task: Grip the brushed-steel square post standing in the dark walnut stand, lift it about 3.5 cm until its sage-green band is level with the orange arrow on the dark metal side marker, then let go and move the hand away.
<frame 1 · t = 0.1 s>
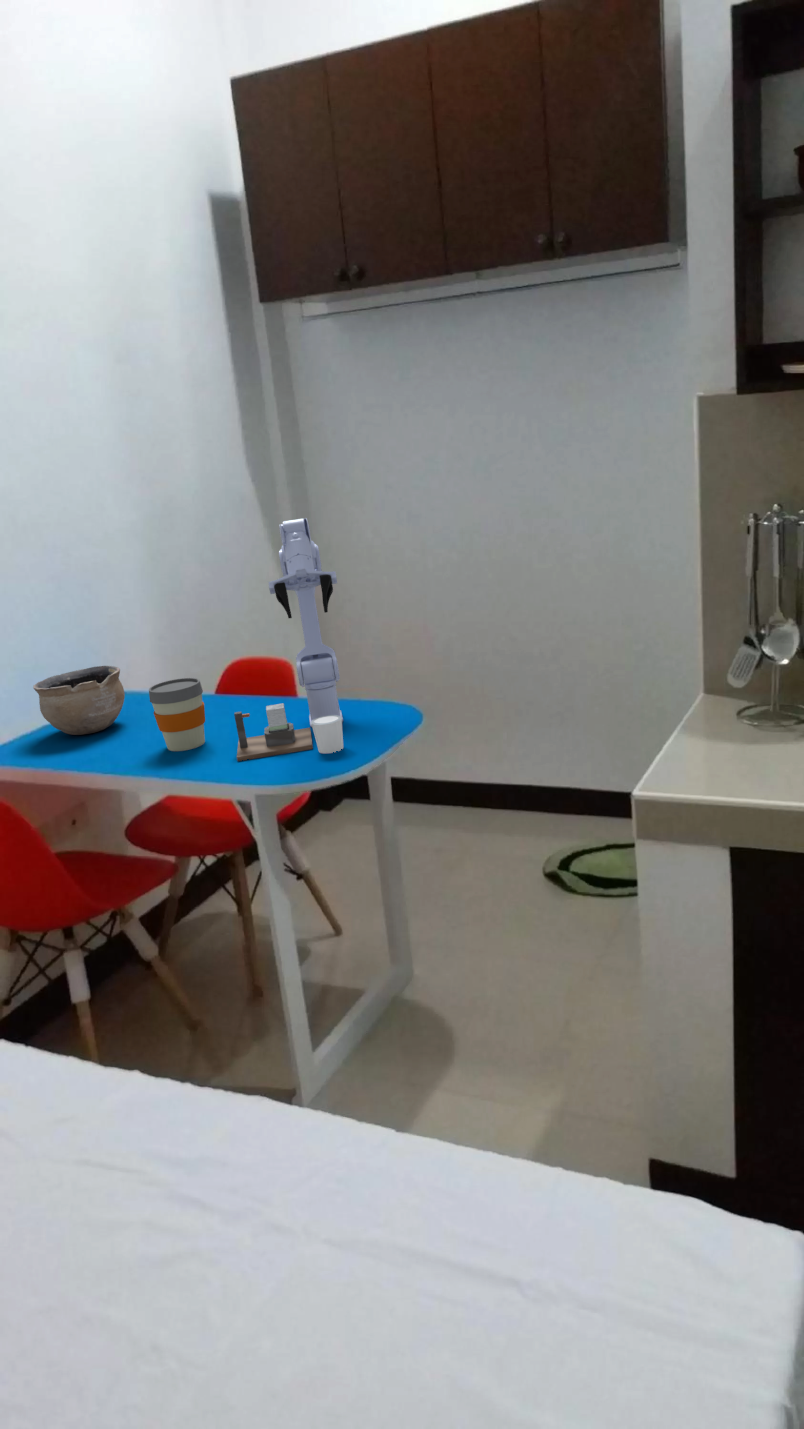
hand: (307, 612, 229), 32 cm above the table, tool tilted 50°, fingers open, 7 cm apart
shot glass: (331, 750, 242), on the table
stand: (281, 744, 250), on the table
reusable coffee cup: (186, 745, 261), on the table
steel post: (277, 723, 249), point 5 cm above the table, slide at 0.0 cm
ceramic bowl: (89, 730, 287), on the table
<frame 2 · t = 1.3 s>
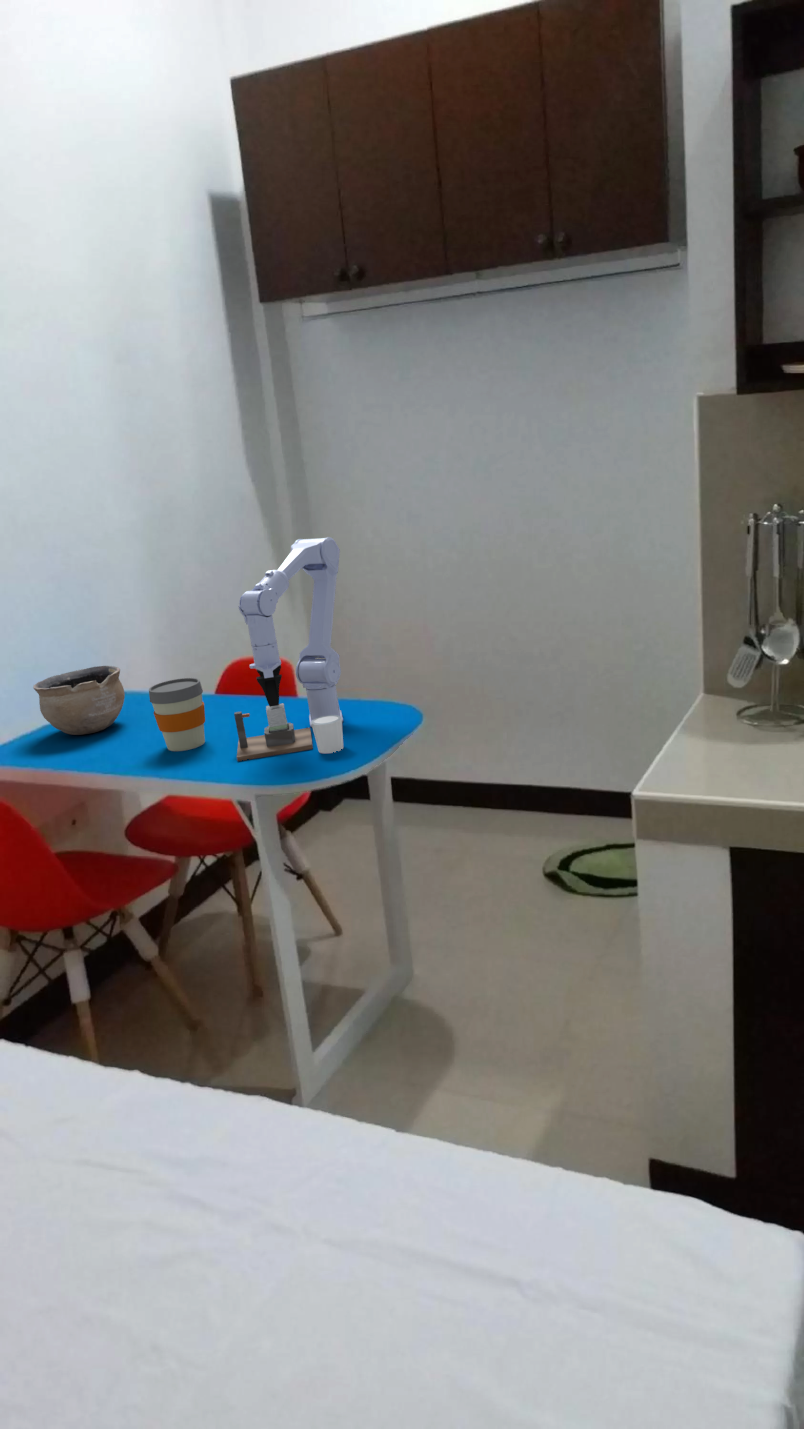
hand: (274, 701, 247), 11 cm above the table, tool pointing down, fingers open, 7 cm apart
nothing on the table moved.
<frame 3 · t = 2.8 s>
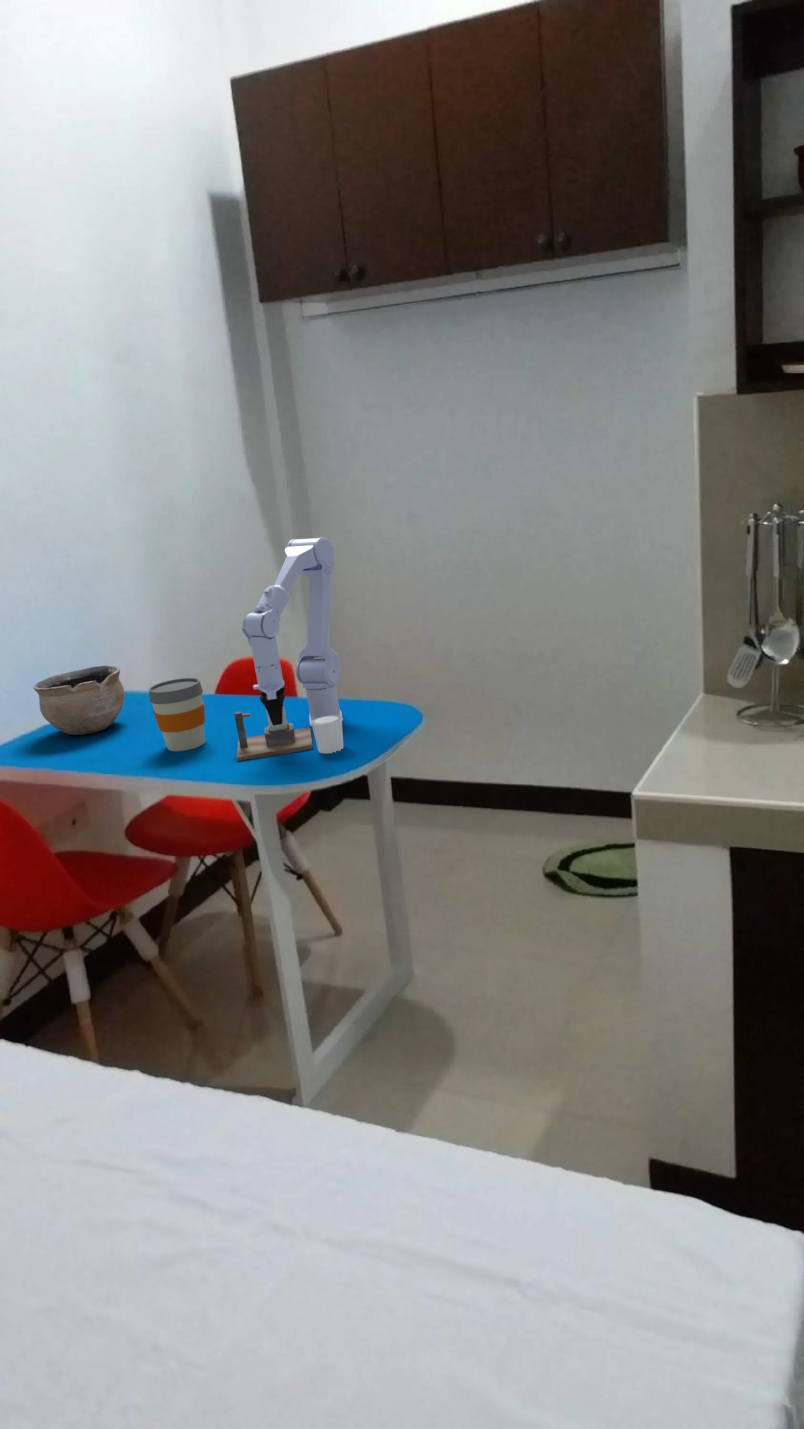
hand: (277, 721, 249), 6 cm above the table, tool pointing down, fingers closed on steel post, 4 cm apart
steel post: (277, 723, 249), point 5 cm above the table, slide at 0.0 cm, touching gripper
everything else where it was.
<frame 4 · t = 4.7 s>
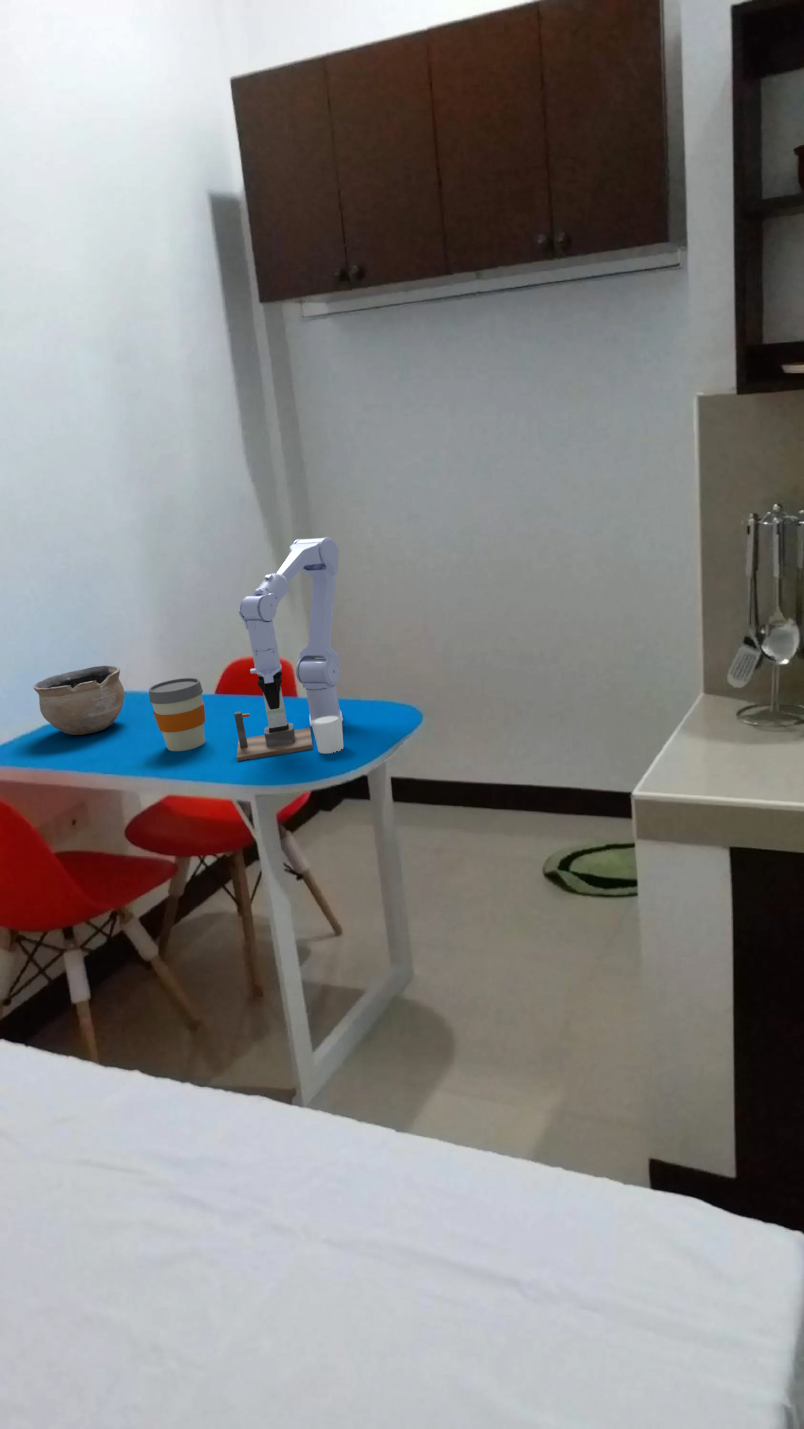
hand: (274, 706, 248), 9 cm above the table, tool pointing down, fingers closed on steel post, 4 cm apart
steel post: (275, 707, 248), point 9 cm above the table, slide at 3.8 cm, touching gripper
everything else where it was.
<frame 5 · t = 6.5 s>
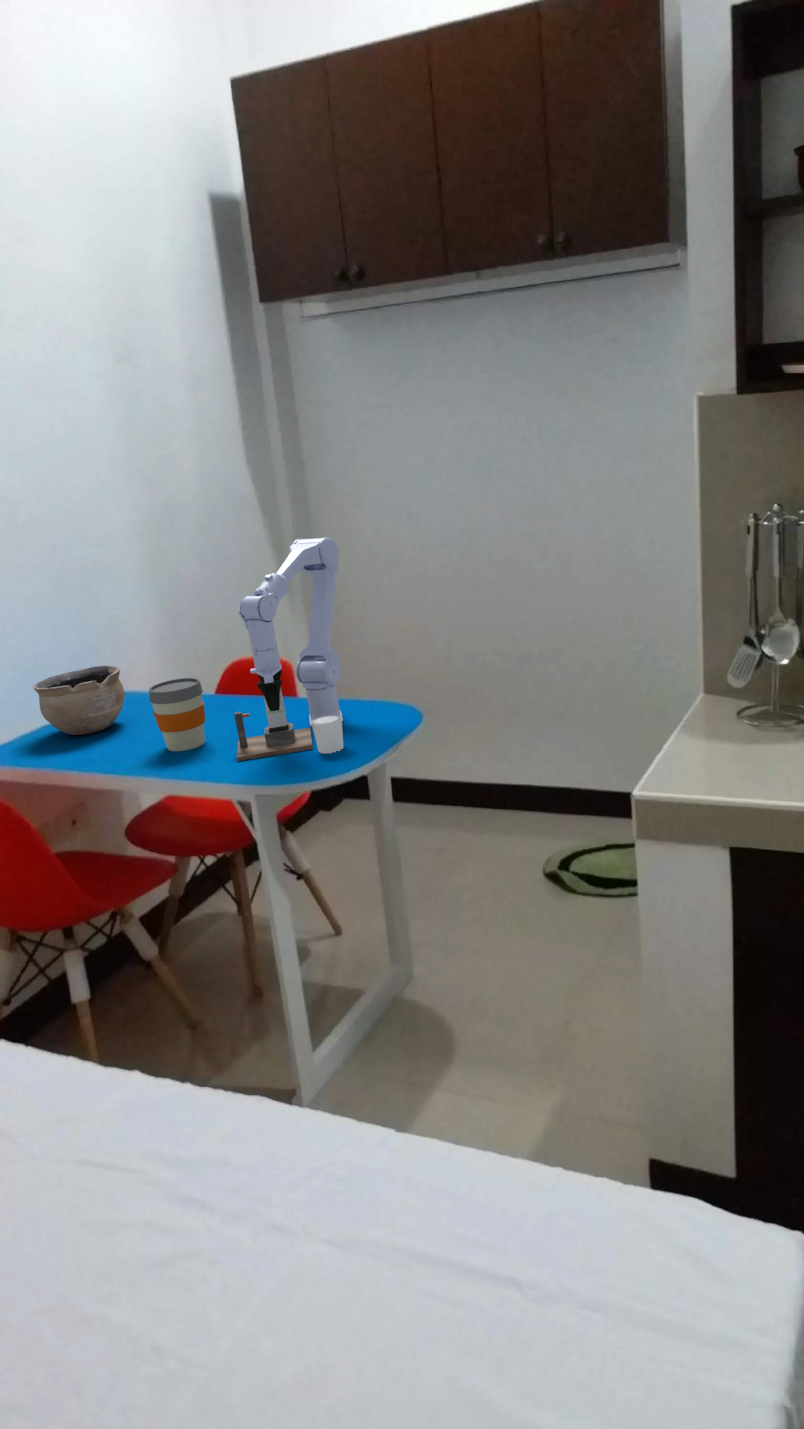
hand: (274, 706, 248), 9 cm above the table, tool pointing down, fingers open, 7 cm apart
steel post: (275, 707, 248), point 9 cm above the table, slide at 3.8 cm
everything else where it was.
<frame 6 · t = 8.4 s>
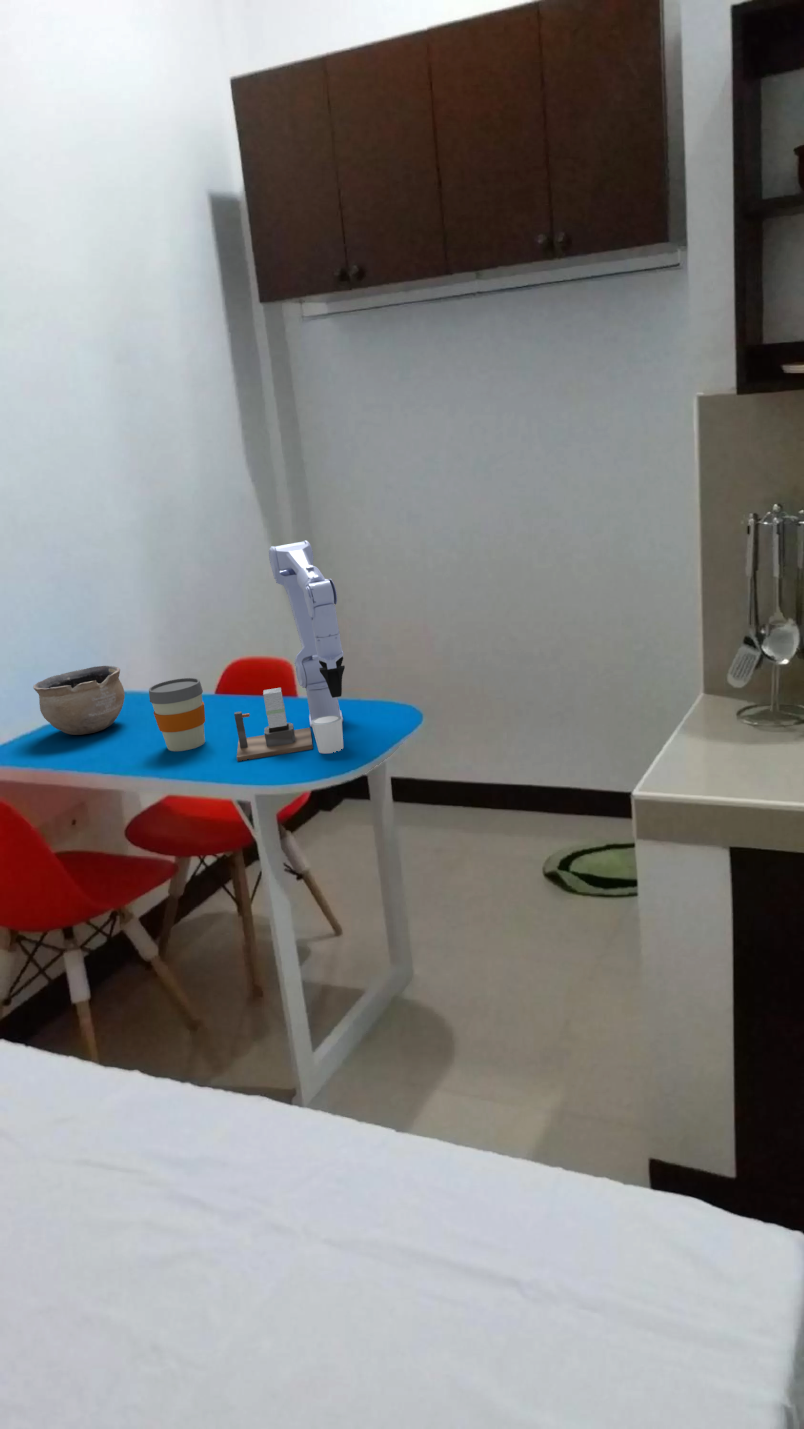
hand: (336, 692, 247), 10 cm above the table, tool pointing down, fingers open, 7 cm apart
nothing on the table moved.
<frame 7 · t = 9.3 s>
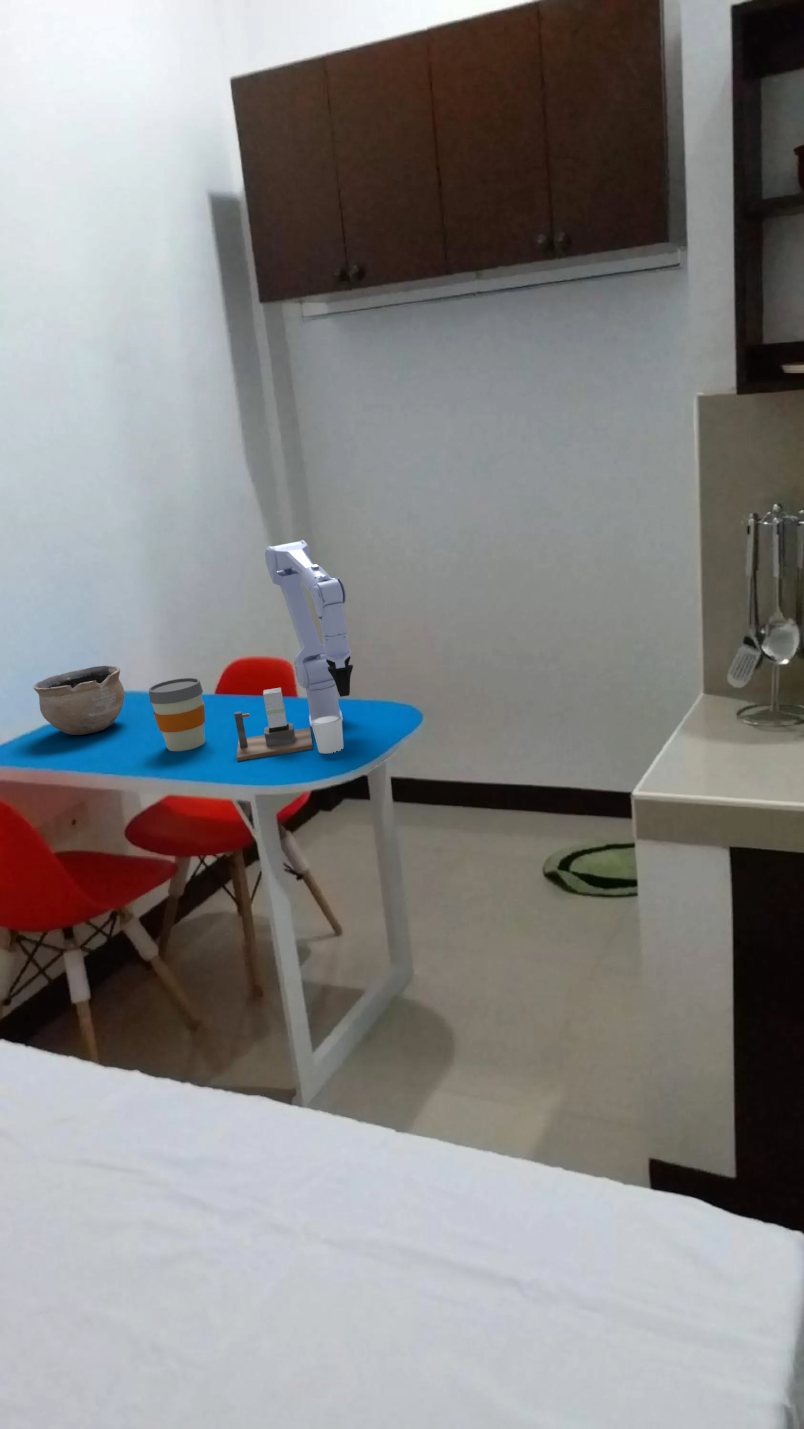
hand: (343, 691, 247), 10 cm above the table, tool pointing down, fingers open, 7 cm apart
nothing on the table moved.
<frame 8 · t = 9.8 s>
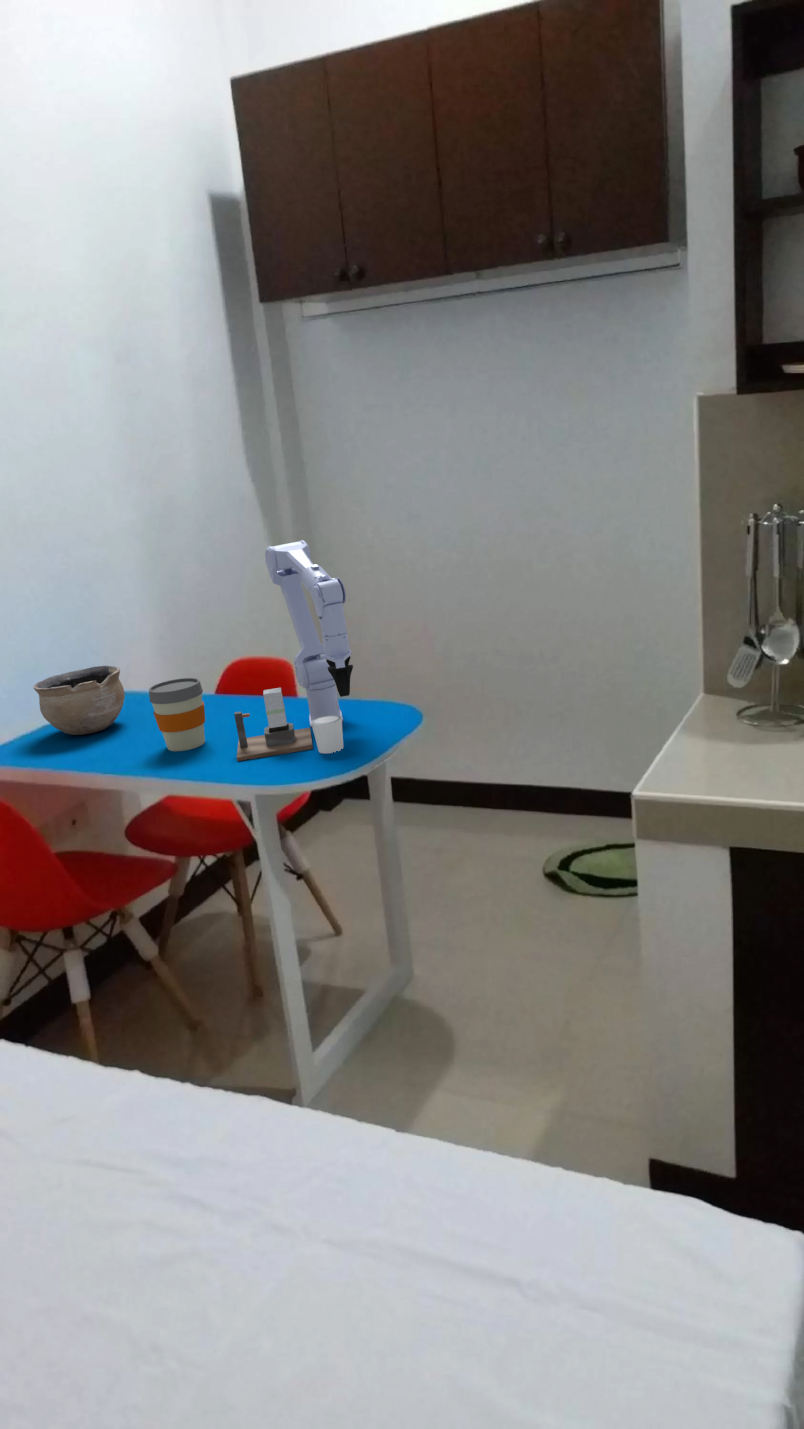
hand: (343, 691, 247), 10 cm above the table, tool pointing down, fingers open, 7 cm apart
nothing on the table moved.
at the end: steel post slide at 3.8 cm; the gripper is holding nothing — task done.
